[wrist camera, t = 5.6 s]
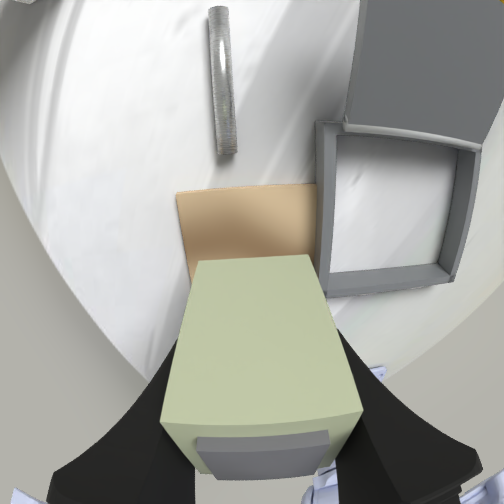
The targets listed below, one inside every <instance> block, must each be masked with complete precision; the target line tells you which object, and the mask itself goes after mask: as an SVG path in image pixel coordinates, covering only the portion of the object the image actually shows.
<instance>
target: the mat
mask: <svg viewBox="0 0 504 504" xmlns="http://www.w3.org/2000/svg"><path fill="white" fill-rule="evenodd" d="M176 199H177V206H178V212H179V218H180V224H181V230H182V236H183V241H184V247H185V252H186V257H187V263H188V268H189V273H190V278H191V283H192V282H193V279H194V275H195V272H196V268H197V264H198V261H203V260H221V259H238V258H255V257H272V256H289V255H305V254H308V255H309V257H310V260H311V262H312V265H313V267H314V254H315V235H316V210H317V185H316V184H287V185H264V186H246V187H231V188H218V189H206V190H195V191H185V192H177V193H176Z"/></svg>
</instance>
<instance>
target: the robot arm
mask: <svg viewBox="0 0 504 504" xmlns="http://www.w3.org/2000/svg"><path fill="white" fill-rule="evenodd" d="M336 329H337V328H336ZM337 331H338V334H339V337H340V340H341V343H342V346H343V349H344V352H345V354H346V357H347V360H348V363H349V366H350V369H351V372H352V375H353V379H354V382H355V385H356V388H357V391H358V394H359V397H360V401H361V404H362V407H363V410H364V411H363V412H362V414H361V416H360V418H359V420H358V422H357V423H356V425H355V427H354V429H353V430H352V432H351V434H350V436H349V437H348V439H347V441H346V442H345V444H344V445H343V447H342V449H341V450H340V452H339V453H338V455H337V457H336V458H335V460H334V461H333V463H332V464H331V466H330V467H324V468H318V469H317V471H318V477H314V478H313V484H314V485H312V486H309V487H308V489H307V490H306V492H305V494H304V495H303V497H302V501H301V504H504V468H503V469H502V470H501V471H499V472H498V473H496V474H494V475H493V476H491V477H489V478H487V479H486V480H484V481H482V482H481V483H479V484H478V485H476V486H475V487H473V488H472V489H470V490H468V491H467V492H465V494H464V495H462V496H461V497H459V495H458V494H459V493H460V492H461V491H462V489H461V486H460V485H461V484H463V483H465V482H466V481H468V480H470V479H471V478H473V477H475V476H476V475H478V474H479V473H481V472H482V470H483V467H482V464H481V461H480V459H479V456H478V454H477V452H476V450H475V449H473V448H471V447H469V446H467V445H465V444H463V443H461V442H458V441H456V440H455V439H453V438H451V437H449V436H447V435H446V434H444V433H442V432H441V431H439V430H438V429H436V428H435V427H433V426H432V425H430V424H429V423H427V422H426V421H424V420H423V419H422V418H420V417H419V416H418V415H416V414H415V413H414V412H413V411H411V410H410V409H409V408H408V407H406V406H405V405H404V404H403V403H402V402H401V401H400V400H399V399H397V398H396V397H395V396H394V395H393V394H392V393H391V392H390V391H389V390H388V389H387V388H386V387H385V386H384V385H383V384H382V383H381V382H382V380H383V378H384V376H385V373H386V371H387V369H386V367H384V366H383V367H378V368H373V369H369V368H368V367H367V366H366V365H365V363H364V362H363V361H362V360H361V359H360V357H359V356H358V355H357V354H356V352H355V351H354V350H353V349H352V347H351V346H350V345H349V343H348V342H347V341H346V339H345V338H344V337H343V335H342V334H341V333H340V331H339V330H338V329H337ZM177 341H178V339H177V340H176V342H175V344H174V345H173V347H172V349H171V350H170V352H169V354H168V355H167V357H166V359H165V360H164V362H163V363H162V365H161V367H160V368H159V370H158V371H157V373H156V374H155V376H154V377H153V378H152V380H151V381H150V383H149V384H148V386H147V387H146V389H145V390H144V391H143V393H142V394H141V395H140V396H139V398H138V399H137V400H136V402H135V403H134V404H133V405H132V407H131V408H130V409H129V410H128V411H127V413H126V414H125V415H124V416H123V417H122V418H121V419H120V420H119V421H118V422H117V424H116V425H114V426H113V427H112V428H111V429H110V430H109V432H107V434H105V435H104V436H103V437H102V438H101V439H100V440H99V441H98V442H97V443H95V444H94V445H93V446H91V447H90V448H89V449H88V450H86V451H85V452H84V453H83V454H81V455H80V456H79V457H77V458H76V459H74V460H73V461H71V462H70V463H68V464H67V465H65V466H64V467H62V468H60V469H59V470H57V471H55V472H54V473H53V476H52V479H51V482H50V486H49V490H48V495H47V499H46V501H47V503H48V504H195V467H194V465H193V464H192V463H191V462H190V461H189V459H188V458H187V457H186V456H185V455H184V453H183V452H182V451H181V450H180V448H179V447H178V446H177V444H176V443H175V442H174V440H173V439H172V438H171V436H170V435H169V434H168V432H167V431H166V430H165V428H164V427H163V426H162V424H161V423H160V418H161V413H162V408H163V403H164V398H165V394H166V389H167V384H168V380H169V375H170V371H171V366H172V362H173V358H174V353H175V349H176V345H177ZM47 503H45V502H43V501H40V500H38V499H36V498H34V497H32V496H30V495H28V494H27V493H25V492H23V491H21V490H20V489H18V488H14V491H13V495H12V499H11V503H10V504H47Z"/></svg>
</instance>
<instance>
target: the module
mask: <svg viewBox="0 0 504 504" xmlns="http://www.w3.org/2000/svg"><path fill="white" fill-rule="evenodd" d="M363 411H364V410H363V407H362V404H361V401H360V397H359V394H358V391H357V388H356V385H355V382H354V379H353V375H352V372H351V369H350V366H349V363H348V360H347V357H346V354H345V352H344V349H343V346H342V343H341V340H340V337H339V334H338V331H337V329H336V326H335V323H334V320H333V318H332V315H331V312H330V309H329V307H328V304H327V301H326V299H325V296H324V293H323V291H322V288H321V285H320V283H319V280H318V278H317V275H316V273H315V270H314V267H313V265H312V262H311V260H310V257H309V255H308V254H305V255H289V256H272V257H255V258H238V259H221V260H203V261H198V264H197V268H196V272H195V275H194V279H193V282H192V286H191V290H190V294H189V297H188V301H187V305H186V309H185V313H184V317H183V321H182V324H181V328H180V333H179V337H178V341H177V345H176V349H175V353H174V358H173V362H172V366H171V371H170V375H169V380H168V384H167V389H166V394H165V398H164V403H163V408H162V413H161V418H160V423H161V424H162V426H163V427H164V428H165V430H166V431H167V432H168V434H169V435H170V436H171V438H172V439H173V440H174V442H175V443H176V444H177V446H178V447H179V448H180V450H181V451H182V452H183V453H184V455H185V456H186V457H187V458H188V459H189V461H190V462H191V463H192V464H193V465H194V467H195V468H196V469H197V470H198V471H199V472H200V474H213V475H214V476H215V478H216V479H217V480H266V479H280V478H291V477H300V476H307V475H314V473H315V472H316V470H317V469H318V468H324V467H330V466H331V464H332V463H333V461H334V460H335V458H336V457H337V455H338V453H339V452H340V450H341V449H342V447H343V445H344V444H345V442H346V441H347V439H348V437H349V436H350V434H351V432H352V430H353V429H354V427H355V425H356V423H357V422H358V420H359V418H360V416H361V414H362V412H363Z"/></svg>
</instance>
